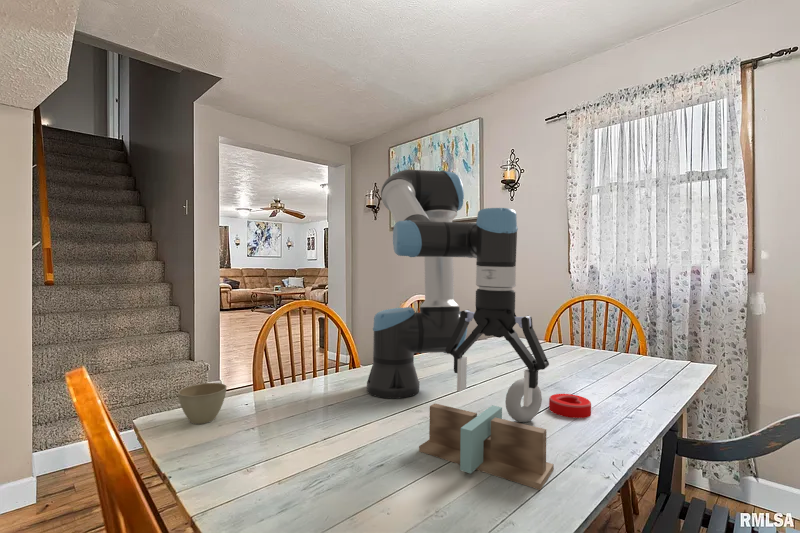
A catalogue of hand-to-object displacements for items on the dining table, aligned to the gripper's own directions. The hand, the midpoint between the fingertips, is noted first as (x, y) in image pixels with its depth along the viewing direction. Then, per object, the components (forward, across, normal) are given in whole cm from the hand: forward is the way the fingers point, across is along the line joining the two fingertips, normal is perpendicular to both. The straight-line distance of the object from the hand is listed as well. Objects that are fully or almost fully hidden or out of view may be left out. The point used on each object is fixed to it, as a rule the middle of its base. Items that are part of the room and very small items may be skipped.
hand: (493, 396), depth 80 cm
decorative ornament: (+11, +8, +31) cm, 34 cm away
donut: (+11, +1, +17) cm, 20 cm away
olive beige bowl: (+11, -59, -26) cm, 66 cm away
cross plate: (+9, +1, -6) cm, 11 cm away
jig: (+10, +1, -6) cm, 12 cm away
